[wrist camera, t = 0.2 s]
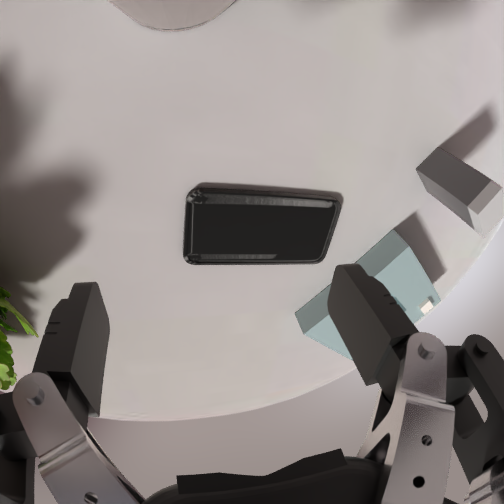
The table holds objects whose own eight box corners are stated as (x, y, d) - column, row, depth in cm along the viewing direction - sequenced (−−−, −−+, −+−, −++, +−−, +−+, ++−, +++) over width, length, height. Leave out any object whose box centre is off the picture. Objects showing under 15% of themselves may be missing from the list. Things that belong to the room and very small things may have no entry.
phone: (187, 191, 26) (343, 200, 30) (186, 185, 27) (338, 195, 31) (182, 265, 30) (322, 265, 34) (182, 258, 31) (318, 259, 35)
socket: (294, 313, 39) (305, 337, 36) (393, 229, 35) (412, 248, 31) (351, 348, 48) (362, 367, 45) (428, 285, 43) (443, 302, 40)
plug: (415, 169, 30) (477, 214, 22) (437, 147, 29) (502, 187, 21) (427, 191, 33) (483, 238, 25) (448, 170, 31) (506, 212, 24)
